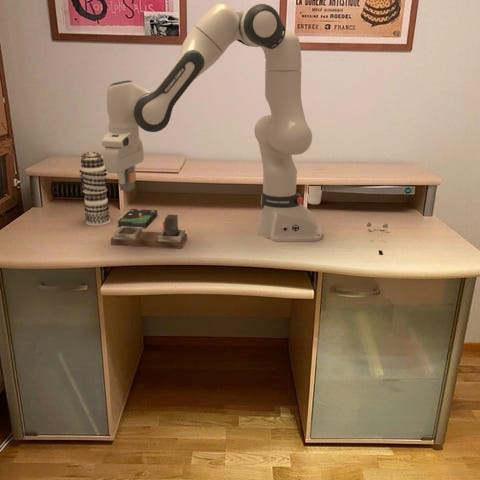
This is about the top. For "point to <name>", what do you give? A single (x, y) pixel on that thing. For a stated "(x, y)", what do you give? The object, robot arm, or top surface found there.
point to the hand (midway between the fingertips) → (127, 181)
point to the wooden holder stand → (152, 235)
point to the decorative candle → (94, 188)
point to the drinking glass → (314, 191)
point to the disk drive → (138, 218)
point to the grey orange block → (129, 179)
